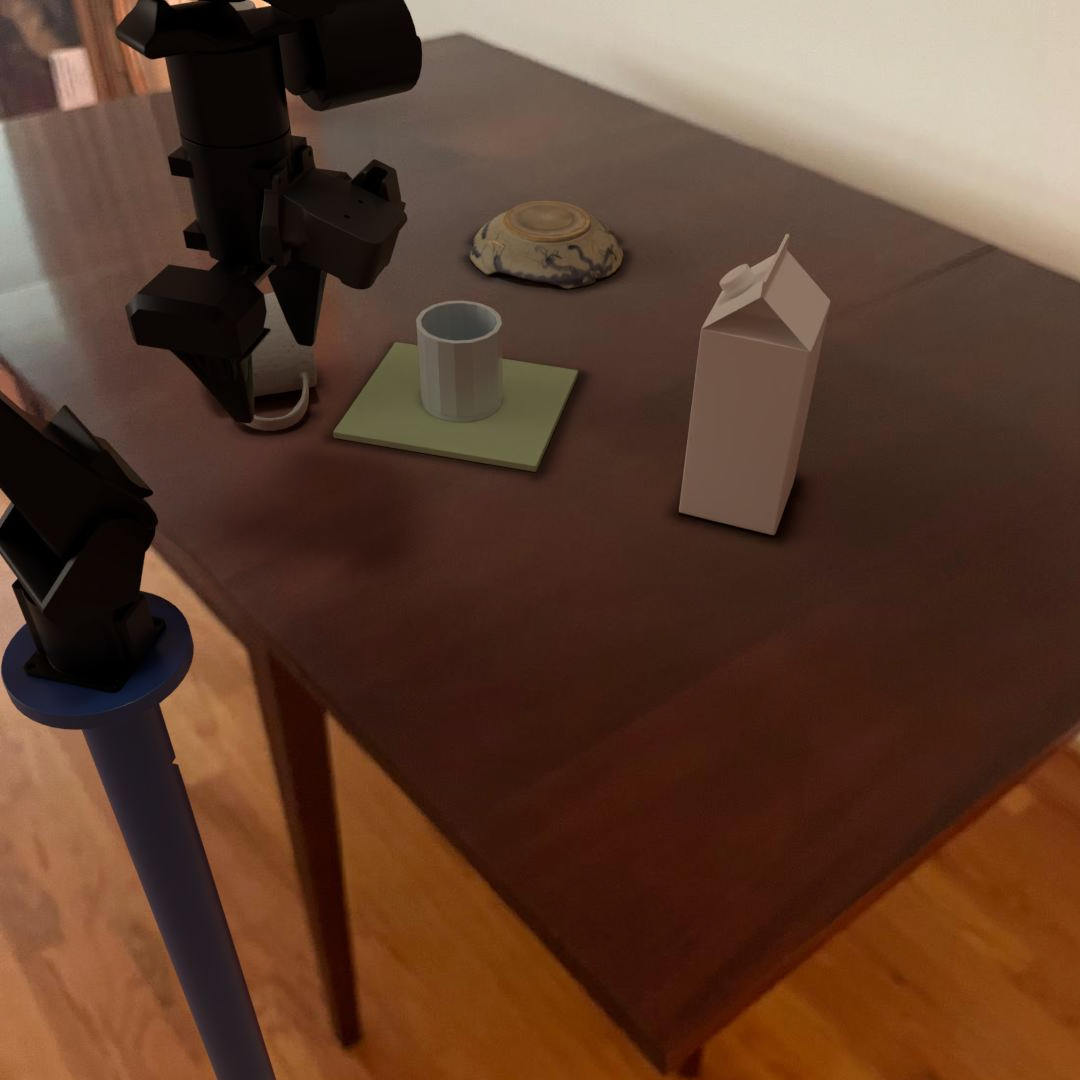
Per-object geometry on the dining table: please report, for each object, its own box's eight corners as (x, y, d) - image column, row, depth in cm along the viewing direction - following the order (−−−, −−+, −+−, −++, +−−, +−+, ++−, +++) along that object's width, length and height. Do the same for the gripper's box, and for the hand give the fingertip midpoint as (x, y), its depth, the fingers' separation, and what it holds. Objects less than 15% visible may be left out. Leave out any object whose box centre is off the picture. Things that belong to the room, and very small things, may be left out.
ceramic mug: (200, 374, 93) (182, 288, 88) (300, 355, 96) (287, 271, 91) (229, 446, 86) (211, 358, 81) (335, 423, 89) (324, 337, 84)
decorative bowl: (442, 240, 113) (518, 303, 104) (441, 203, 111) (518, 265, 102) (570, 211, 120) (652, 269, 110) (572, 176, 117) (656, 232, 108)
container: (410, 415, 89) (404, 335, 84) (436, 373, 94) (431, 295, 89) (489, 428, 88) (487, 348, 83) (511, 385, 93) (511, 307, 88)
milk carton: (794, 482, 86) (842, 243, 73) (774, 538, 81) (822, 292, 68) (702, 460, 87) (734, 223, 74) (677, 514, 82) (707, 270, 69)
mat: (333, 438, 87) (332, 431, 87) (395, 347, 98) (395, 341, 97) (536, 472, 85) (536, 465, 85) (578, 376, 95) (578, 370, 95)
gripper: (308, 221, 53) (342, 490, 63) (436, 87, 66) (447, 327, 77) (87, 189, 54) (156, 458, 65) (256, 65, 68) (291, 303, 78)
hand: (276, 381), depth 71 cm, fingers open, 9 cm apart
